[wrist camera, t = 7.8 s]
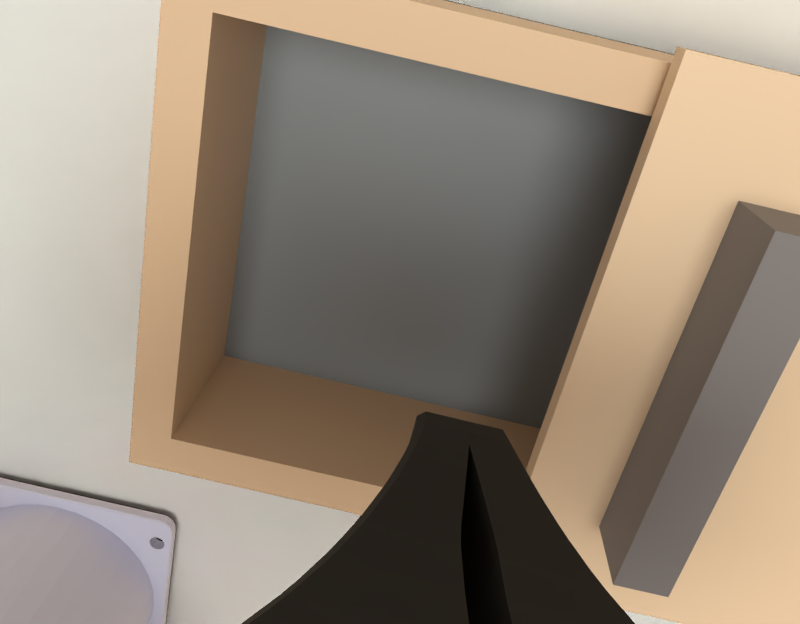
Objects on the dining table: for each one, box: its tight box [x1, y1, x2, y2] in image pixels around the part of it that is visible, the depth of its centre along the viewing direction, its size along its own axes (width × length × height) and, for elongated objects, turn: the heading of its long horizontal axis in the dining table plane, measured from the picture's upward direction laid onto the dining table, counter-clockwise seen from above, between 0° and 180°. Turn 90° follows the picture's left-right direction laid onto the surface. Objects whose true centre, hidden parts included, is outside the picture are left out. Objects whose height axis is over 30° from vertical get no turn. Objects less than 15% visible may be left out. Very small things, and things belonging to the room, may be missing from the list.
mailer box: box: [129, 0, 674, 515], centre depth 18 cm, size 12×16×5 cm
